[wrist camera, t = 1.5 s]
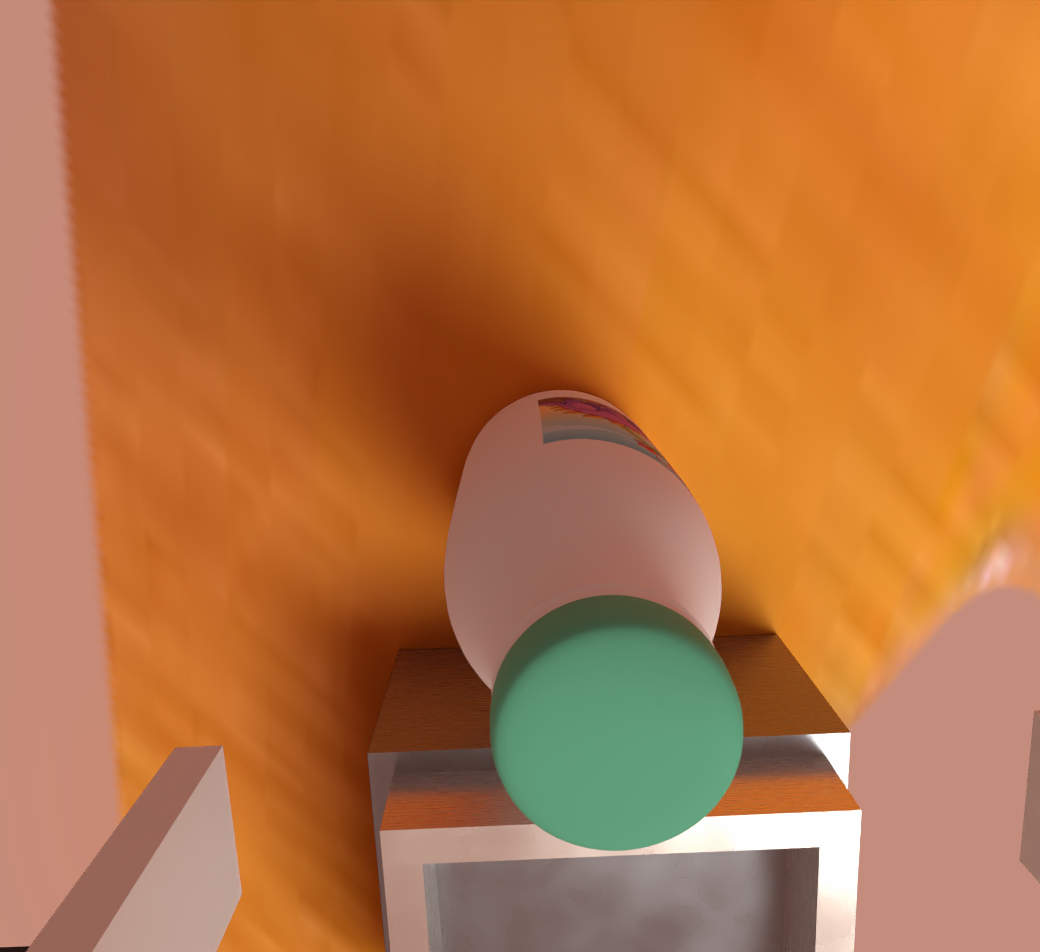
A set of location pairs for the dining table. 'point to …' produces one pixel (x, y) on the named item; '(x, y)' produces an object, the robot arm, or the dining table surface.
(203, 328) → the dining table surface
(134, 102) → the dining table surface
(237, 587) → the dining table surface
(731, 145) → the dining table surface
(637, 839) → the milk bottle
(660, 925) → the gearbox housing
